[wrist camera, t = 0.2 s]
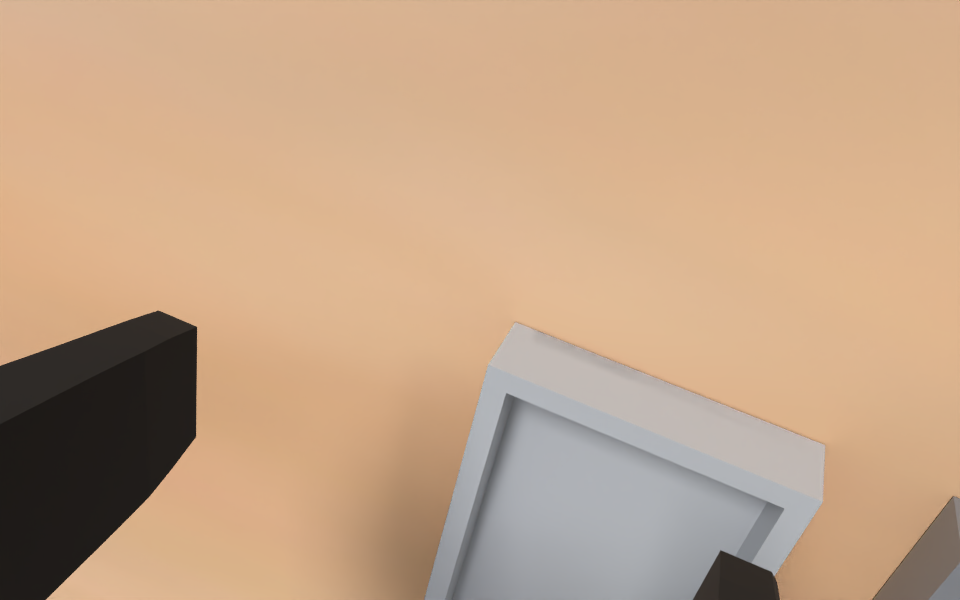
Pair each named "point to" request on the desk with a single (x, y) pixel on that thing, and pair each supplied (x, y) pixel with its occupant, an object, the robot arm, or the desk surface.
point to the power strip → (930, 563)
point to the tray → (613, 484)
